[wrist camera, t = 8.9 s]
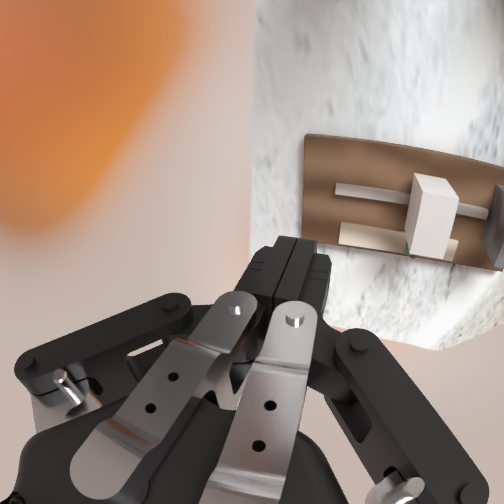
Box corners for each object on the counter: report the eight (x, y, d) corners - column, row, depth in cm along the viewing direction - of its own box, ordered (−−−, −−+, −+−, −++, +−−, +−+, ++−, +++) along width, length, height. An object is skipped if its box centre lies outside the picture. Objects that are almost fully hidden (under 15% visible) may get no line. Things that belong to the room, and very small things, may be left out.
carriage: (413, 172, 31) (422, 191, 26) (445, 178, 30) (459, 198, 25) (398, 254, 37) (401, 284, 32) (426, 258, 36) (433, 288, 31)
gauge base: (306, 133, 35) (293, 146, 29) (526, 174, 26) (553, 196, 20) (303, 234, 43) (291, 265, 37) (499, 265, 34) (514, 298, 28)
